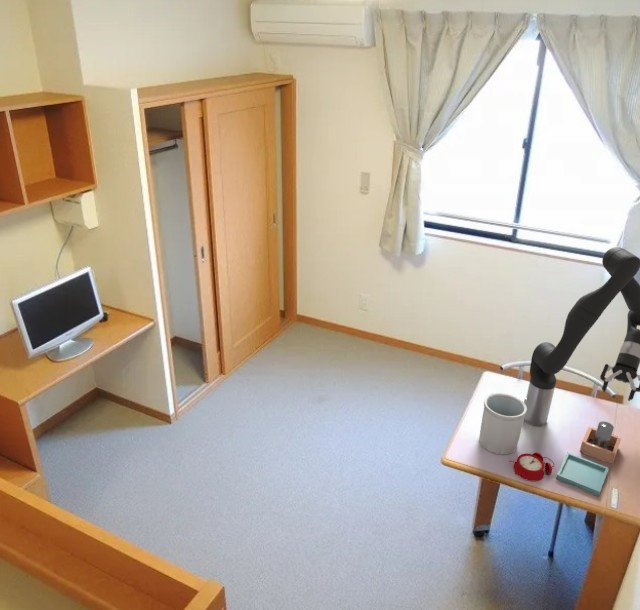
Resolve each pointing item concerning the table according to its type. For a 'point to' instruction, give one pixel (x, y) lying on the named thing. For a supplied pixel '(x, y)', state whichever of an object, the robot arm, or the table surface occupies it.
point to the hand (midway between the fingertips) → (616, 396)
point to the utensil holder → (502, 423)
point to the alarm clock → (531, 466)
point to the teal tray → (582, 473)
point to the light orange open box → (599, 451)
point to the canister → (603, 434)
